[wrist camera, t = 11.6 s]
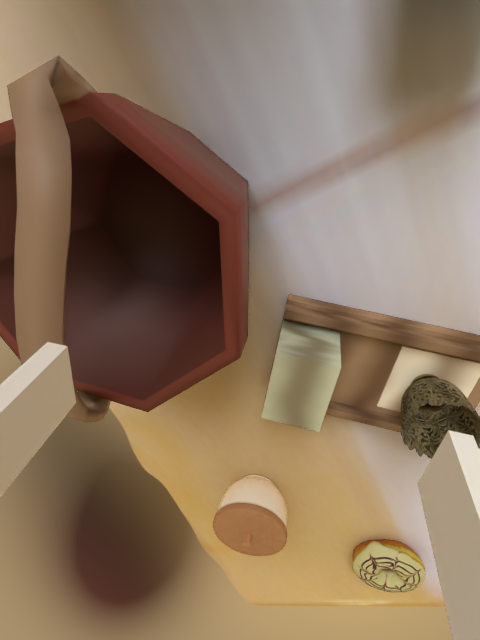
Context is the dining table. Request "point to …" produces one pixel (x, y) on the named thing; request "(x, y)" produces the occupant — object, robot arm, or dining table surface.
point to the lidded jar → (252, 517)
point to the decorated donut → (388, 565)
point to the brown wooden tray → (360, 364)
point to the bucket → (117, 243)
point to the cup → (435, 414)
